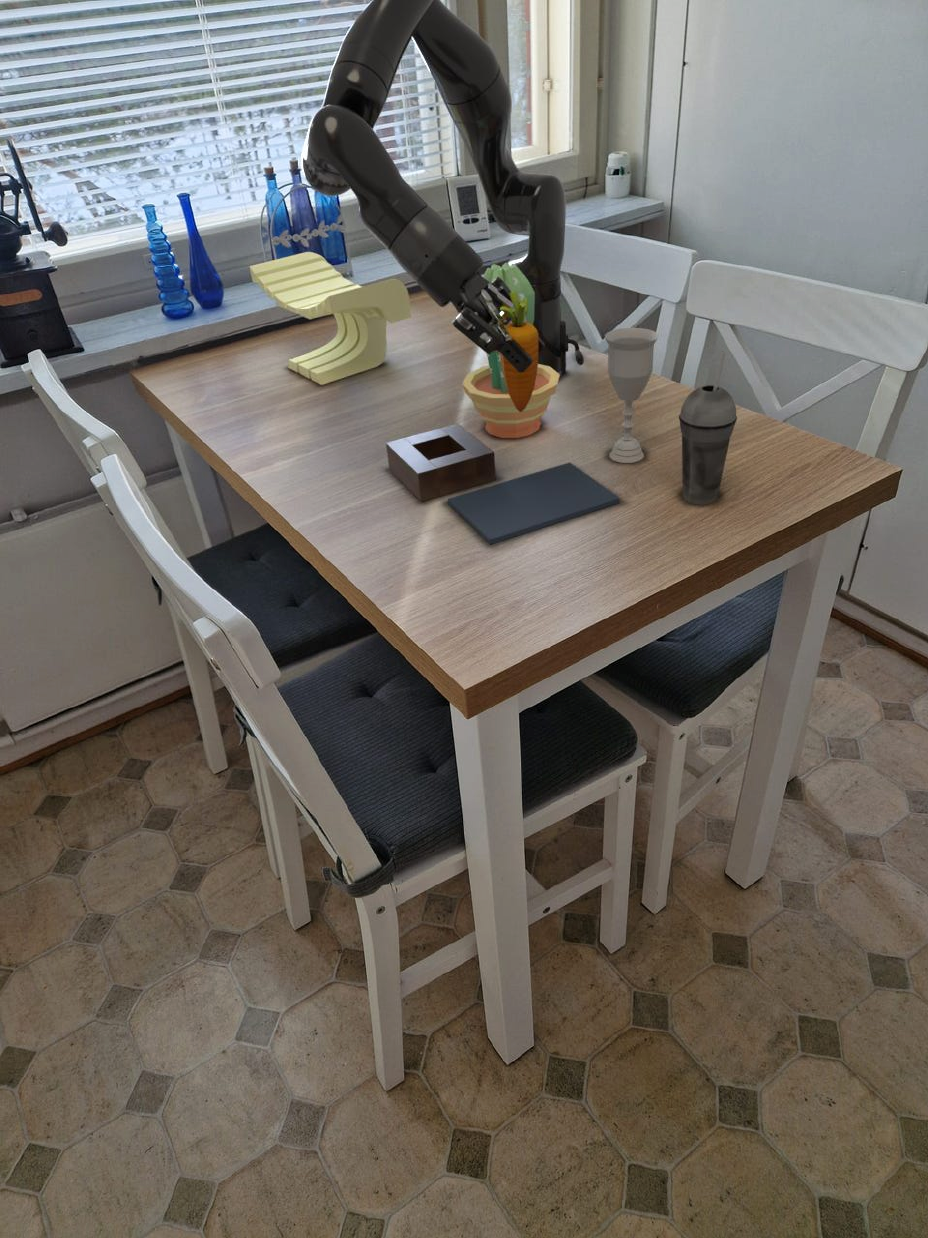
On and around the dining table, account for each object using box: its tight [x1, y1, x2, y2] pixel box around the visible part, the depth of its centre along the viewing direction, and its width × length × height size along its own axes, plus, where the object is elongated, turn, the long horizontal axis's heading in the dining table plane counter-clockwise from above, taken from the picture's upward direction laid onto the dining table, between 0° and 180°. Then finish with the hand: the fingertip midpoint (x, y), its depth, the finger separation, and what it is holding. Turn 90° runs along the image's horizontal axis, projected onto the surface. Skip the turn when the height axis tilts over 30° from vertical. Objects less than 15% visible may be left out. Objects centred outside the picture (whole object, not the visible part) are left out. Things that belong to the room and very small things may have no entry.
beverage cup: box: [678, 351, 738, 506], centre depth 114 cm, size 7×7×20 cm
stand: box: [385, 423, 497, 503], centre depth 130 cm, size 12×12×4 cm
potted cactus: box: [461, 262, 560, 439], centre depth 136 cm, size 15×15×25 cm
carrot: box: [500, 292, 538, 412], centre depth 111 cm, size 5×5×15 cm
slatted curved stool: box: [249, 251, 412, 386], centre depth 167 cm, size 30×16×18 cm, turn 37°
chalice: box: [604, 327, 659, 464], centre depth 127 cm, size 7×7×18 cm
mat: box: [447, 462, 621, 545], centre depth 122 cm, size 20×13×1 cm, turn 116°
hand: (533, 358), depth 110 cm, fingers closed on carrot, 5 cm apart
